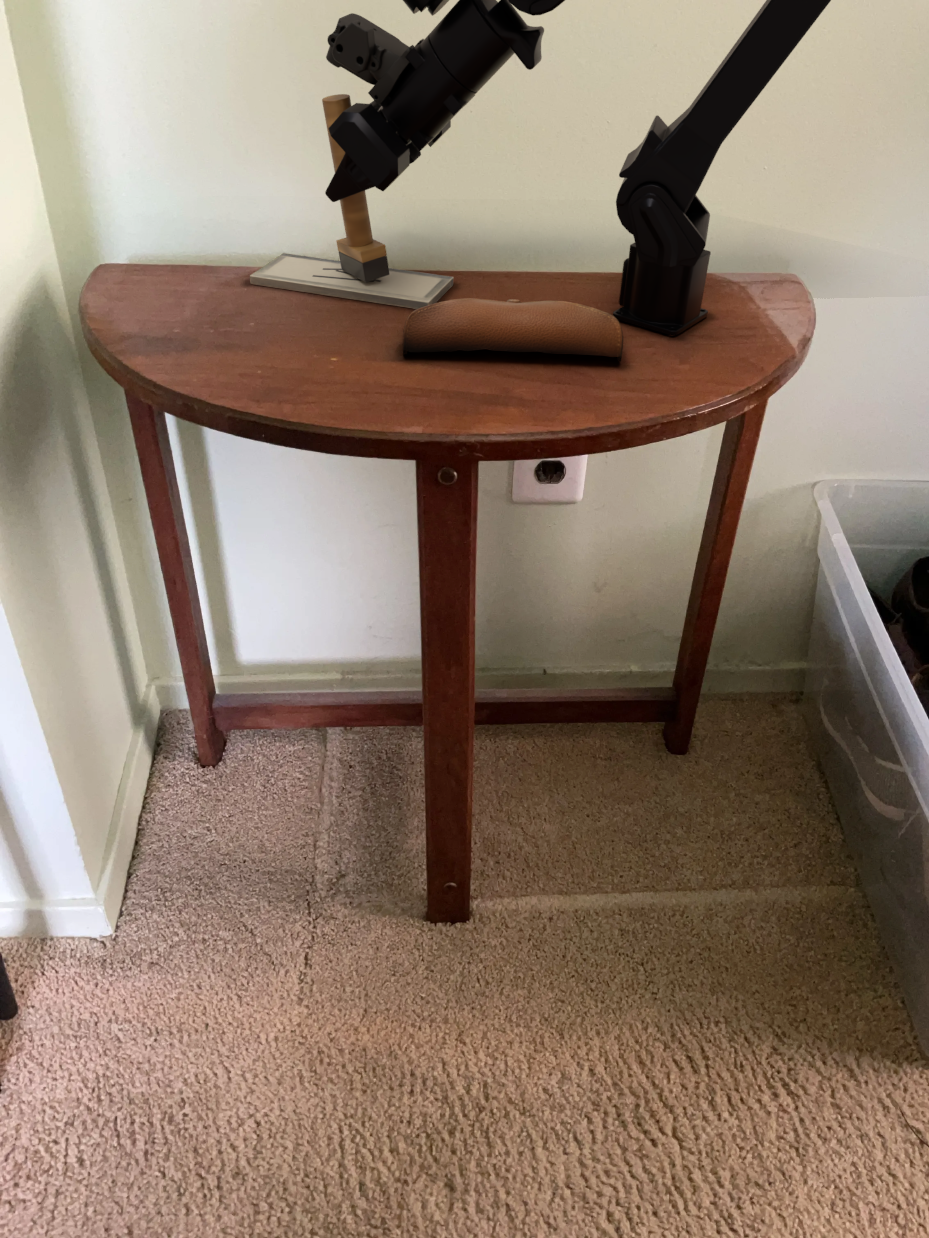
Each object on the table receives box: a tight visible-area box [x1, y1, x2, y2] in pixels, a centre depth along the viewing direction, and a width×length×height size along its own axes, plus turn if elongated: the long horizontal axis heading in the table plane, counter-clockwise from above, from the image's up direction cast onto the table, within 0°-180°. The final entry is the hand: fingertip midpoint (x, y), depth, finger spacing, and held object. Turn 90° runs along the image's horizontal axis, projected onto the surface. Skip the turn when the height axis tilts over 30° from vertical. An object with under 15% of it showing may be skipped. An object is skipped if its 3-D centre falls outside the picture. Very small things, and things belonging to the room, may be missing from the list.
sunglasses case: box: [402, 297, 624, 363], centre depth 83 cm, size 18×7×7 cm, turn 88°
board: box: [249, 252, 454, 310], centre depth 94 cm, size 18×7×1 cm, turn 71°
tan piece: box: [321, 93, 390, 282], centre depth 89 cm, size 5×3×15 cm, turn 33°
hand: (334, 193), depth 89 cm, fingers closed on tan piece, 2 cm apart
